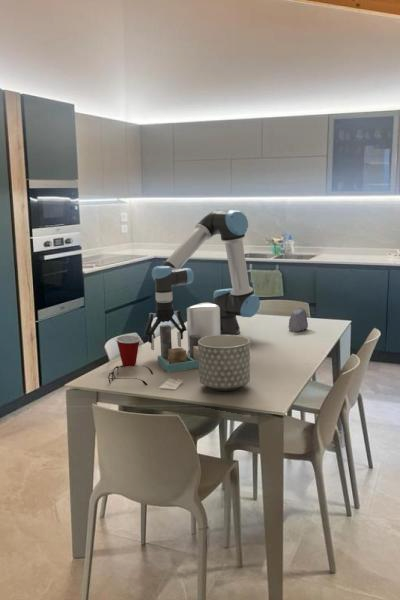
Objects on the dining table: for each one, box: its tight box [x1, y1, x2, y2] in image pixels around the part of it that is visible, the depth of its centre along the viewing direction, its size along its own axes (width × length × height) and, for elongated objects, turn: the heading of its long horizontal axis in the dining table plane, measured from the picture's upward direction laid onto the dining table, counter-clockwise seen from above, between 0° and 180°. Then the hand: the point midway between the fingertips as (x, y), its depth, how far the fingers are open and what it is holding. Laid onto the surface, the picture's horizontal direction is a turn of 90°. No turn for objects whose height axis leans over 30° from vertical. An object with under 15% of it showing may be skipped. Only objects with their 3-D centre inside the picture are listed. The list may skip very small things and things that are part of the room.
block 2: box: [189, 334, 201, 360], centre depth 250 cm, size 6×14×10 cm, turn 20°
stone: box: [288, 308, 309, 332], centre depth 301 cm, size 12×10×10 cm
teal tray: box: [157, 353, 199, 373], centre depth 246 cm, size 24×15×3 cm, turn 110°
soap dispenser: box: [186, 302, 221, 351], centre depth 267 cm, size 15×14×22 cm
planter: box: [198, 334, 251, 392], centre depth 213 cm, size 19×19×18 cm
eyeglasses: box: [107, 365, 154, 386], centre depth 227 cm, size 16×16×4 cm
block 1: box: [159, 324, 187, 364], centre depth 249 cm, size 6×22×14 cm, turn 20°
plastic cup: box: [115, 335, 142, 367], centre depth 246 cm, size 11×11×12 cm
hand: (166, 348), depth 258 cm, fingers open, 12 cm apart
